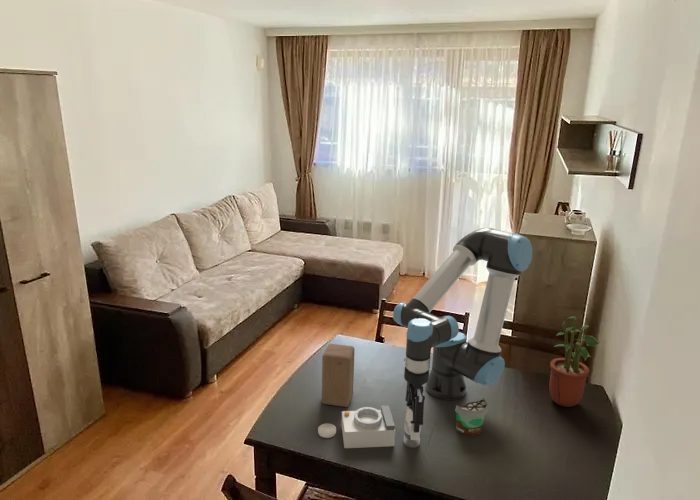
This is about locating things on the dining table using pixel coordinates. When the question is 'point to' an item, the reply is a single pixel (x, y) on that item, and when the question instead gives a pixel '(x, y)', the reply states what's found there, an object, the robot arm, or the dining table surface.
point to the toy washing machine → (368, 428)
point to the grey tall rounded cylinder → (409, 429)
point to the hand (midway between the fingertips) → (412, 431)
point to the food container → (471, 417)
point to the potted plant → (570, 369)
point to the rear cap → (327, 430)
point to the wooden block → (337, 375)
